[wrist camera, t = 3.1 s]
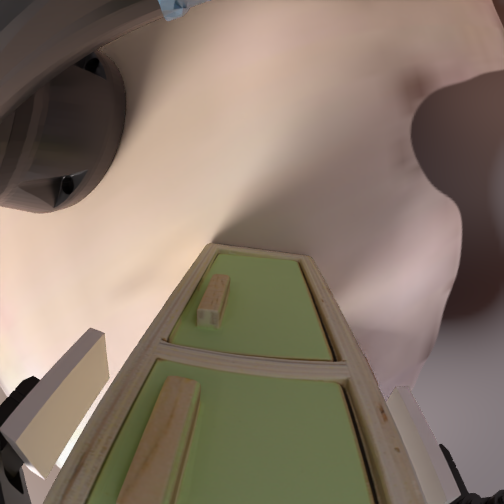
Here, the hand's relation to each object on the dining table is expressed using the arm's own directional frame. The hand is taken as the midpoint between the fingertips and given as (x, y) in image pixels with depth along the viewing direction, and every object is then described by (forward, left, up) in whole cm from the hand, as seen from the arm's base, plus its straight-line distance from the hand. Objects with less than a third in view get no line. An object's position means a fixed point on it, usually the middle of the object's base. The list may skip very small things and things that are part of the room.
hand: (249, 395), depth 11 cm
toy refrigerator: (0, 0, -12) cm, 12 cm away
